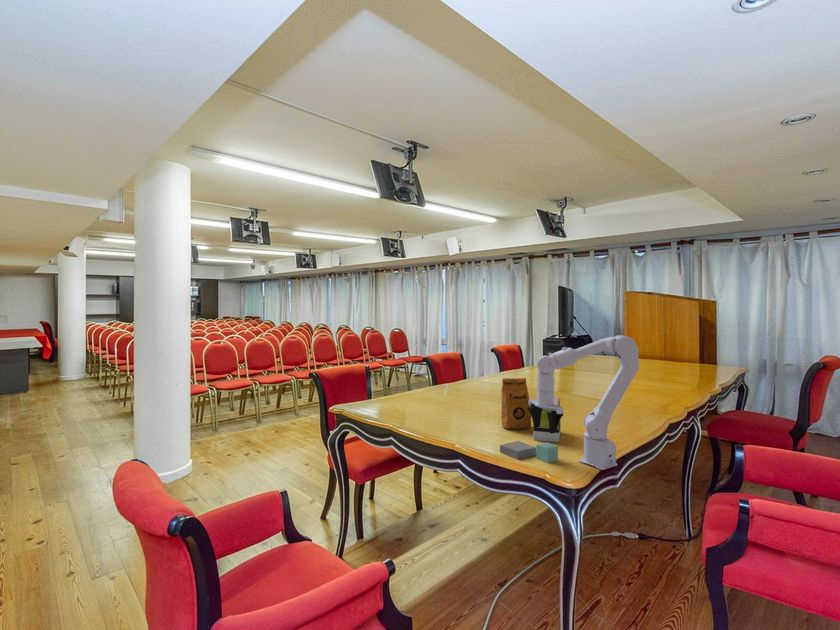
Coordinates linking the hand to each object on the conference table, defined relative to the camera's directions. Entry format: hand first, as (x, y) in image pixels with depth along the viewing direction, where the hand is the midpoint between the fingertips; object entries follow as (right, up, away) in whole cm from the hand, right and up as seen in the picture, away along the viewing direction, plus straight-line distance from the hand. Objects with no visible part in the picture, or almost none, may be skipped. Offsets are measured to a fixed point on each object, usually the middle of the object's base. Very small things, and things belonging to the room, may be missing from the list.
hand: (544, 429), depth 142 cm
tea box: (+9, -10, +26) cm, 30 cm away
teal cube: (+1, -10, -1) cm, 10 cm away
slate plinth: (-8, -10, +6) cm, 14 cm away
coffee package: (-1, -10, +39) cm, 40 cm away
